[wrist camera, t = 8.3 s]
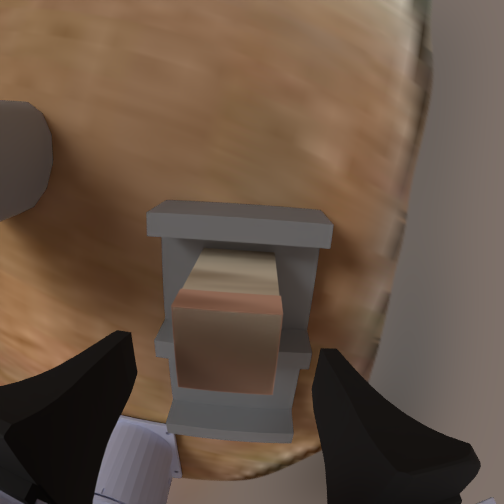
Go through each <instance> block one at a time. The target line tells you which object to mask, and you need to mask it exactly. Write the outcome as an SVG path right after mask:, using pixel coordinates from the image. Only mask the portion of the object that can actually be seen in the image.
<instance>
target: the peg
mask: <svg viewBox="0 0 504 504" xmlns="http://www.w3.org/2000/svg"><path fill="white" fill-rule="evenodd" d="M171 311H172V326H173V339H174V351H175V363H176V373H177V383H178V387H182V388H190V389H199V390H208V391H218V392H230V393H244V394H261V395H273V389H274V382H275V375H276V367H277V360H278V352H279V344H280V336H281V328H282V320H283V309H282V300H281V296H279V287H278V278H277V269H276V261H275V253H274V252H259V251H243V250H227V249H212V248H203V250H202V252H201V254H200V256H199V258H198V259H197V261H196V263H195V265H194V267H193V269H192V271H191V273H190V275H189V276H188V278H187V280H186V282H185V284H184V286H183V288H182V289H180V290H179V292H178V294H177V296H176V298H175V300H174V301H173V303H172V305H171Z"/></svg>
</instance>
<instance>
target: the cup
mask: <svg viewBox="0 0 504 504" xmlns="http://www.w3.org/2000/svg"><path fill="white" fill-rule="evenodd" d="M52 165H53V153H52V135H51V132H50V130H49V128H48V125H47V123H46V120H45V118H44V116H43V113H42V112H40V111H39V110H38V109H36V108H35V107H34V106H32V105H31V104H30V103H29V102H21V101H5V100H0V222H1V221H3V220H5V219H8V218H10V217H13V216H15V215H18V214H20V213H22V212H24V211H26V210H28V209H30V208H32V207H34V206H35V205H36V203H37V202H38V200H39V199H40V197H41V196H42V194H43V193H44V191H45V190H46V189H47V185H48V180H49V176H50V172H51V168H52Z"/></svg>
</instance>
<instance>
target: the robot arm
mask: <svg viewBox="0 0 504 504" xmlns="http://www.w3.org/2000/svg"><path fill="white" fill-rule="evenodd" d="M136 376H137V367H136V362H135V356H134V349H133V343H132V336H131V332H125V331H119V330H117V331H115V332H113V333H111V334H110V335H108V336H106V337H105V338H103V339H102V340H100V341H99V342H97V343H96V344H94V345H93V346H91V347H89V348H88V349H86V350H85V351H83V352H82V353H80V354H78V355H76V356H75V357H73V358H71V359H69V360H68V361H66V362H64V363H62V364H61V365H59V366H57V367H55V368H53V369H51V370H48V371H46V372H44V373H42V374H39V375H37V376H34V377H31V378H28V379H25V380H22V381H19V382H16V383H12V384H8V385H4V386H0V504H166V502H167V497H168V494H169V489H170V485H171V481H172V477H174V478H182V470H181V465H180V460H179V454H178V449H177V443H176V437H175V434H173V433H168V431H167V426H166V424H164V423H158V422H152V421H147V420H142V419H137V418H132V417H127V416H123V415H121V413H122V411H123V409H124V407H125V405H126V403H127V401H128V399H129V396H130V394H131V392H132V389H133V386H134V382H135V379H136ZM312 398H313V409H314V415H315V419H316V424H317V429H318V433H319V438H320V442H321V447H322V451H323V456H324V462H325V470H326V484H327V503H328V504H461V502H462V499H461V497H460V492H462V491H463V489H465V487H466V486H467V485H468V484H469V483H470V482H471V481H472V480H473V479H474V478H475V476H476V475H477V474H478V471H479V469H480V467H481V465H480V461H479V459H478V457H477V455H476V454H475V452H474V450H473V448H472V446H471V445H470V444H469V443H466V442H463V441H460V440H457V439H454V438H452V437H449V436H446V435H444V434H442V433H439V432H437V431H435V430H433V429H431V428H429V427H427V426H425V425H423V424H421V423H420V422H418V421H416V420H415V419H413V418H411V417H410V416H408V415H406V414H405V413H404V412H402V411H401V410H399V409H398V408H397V407H395V406H394V405H393V404H391V403H390V402H389V401H387V400H386V399H385V398H384V397H383V396H382V395H380V394H379V393H378V392H377V391H376V390H375V389H374V388H373V387H371V385H370V384H369V383H368V382H367V381H366V380H365V379H364V378H363V377H362V376H361V375H360V374H359V373H358V372H357V371H356V370H355V369H354V368H353V367H352V365H351V364H350V363H349V362H348V361H347V360H346V359H345V358H344V356H343V355H342V354H341V353H340V352H339V351H338V350H337V349H324V348H321V350H320V355H319V359H318V364H317V368H316V373H315V377H314V381H313V385H312ZM477 504H496V502H495V500H494V498H493V497H490V498H488V499H486V500H484V501H481V502H479V503H477Z"/></svg>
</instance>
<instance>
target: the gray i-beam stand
mask: <svg viewBox="0 0 504 504" xmlns="http://www.w3.org/2000/svg"><path fill="white" fill-rule="evenodd" d="M332 233H333V224H332V222H331V221H330V220H329V219H328V218H327V217H326V216H325V214H324V213H323V212H322V211H321V210H314V209H302V208H291V207H278V206H265V205H250V204H235V203H219V202H200V201H179V200H166V201H164V202H162V203H161V204H159V205H157V206H156V207H154V208H153V209H151V210H150V211H148V212H147V236H154V237H162V267H163V290H164V307H165V320H164V322H163V324H162V326H161V328H160V330H159V332H158V334H157V336H156V338H155V340H154V342H155V351H156V357H161V358H169V368H170V377H171V386H172V394H173V402H172V405H171V408H170V411H169V415H168V418H167V421H166V426H167V431H168V433H173V434H180V435H186V436H194V437H202V438H210V439H220V440H231V441H244V442H263V443H291V442H292V438H293V434H294V433H293V421H292V410H291V409H292V404H293V400H294V395H295V390H296V385H297V380H298V375H299V370H300V369H309V366H310V361H311V356H312V350H311V346H310V341H309V337H308V332H307V327H308V321H309V315H310V309H311V303H312V296H313V290H314V284H315V277H316V270H317V263H318V256H319V249H320V248H326V249H330V247H331V240H332ZM203 248H212V249H227V250H243V251H259V252H274V253H275V261H276V269H277V278H278V287H279V296H281V300H282V309H283V320H282V328H281V336H280V344H279V352H278V360H277V367H276V375H275V382H274V389H273V395H261V394H244V393H230V392H218V391H208V390H199V389H190V388H182V387H178V383H177V373H176V363H175V351H174V339H173V326H172V311H171V305H172V303H173V301H174V300H175V298H176V296H177V294H178V292H179V290H180V289H182V288H183V286H184V284H185V282H186V280H187V278H188V276H189V275H190V273H191V271H192V269H193V267H194V265H195V263H196V261H197V259H198V258H199V256H200V254H201V252H202V250H203Z"/></svg>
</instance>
